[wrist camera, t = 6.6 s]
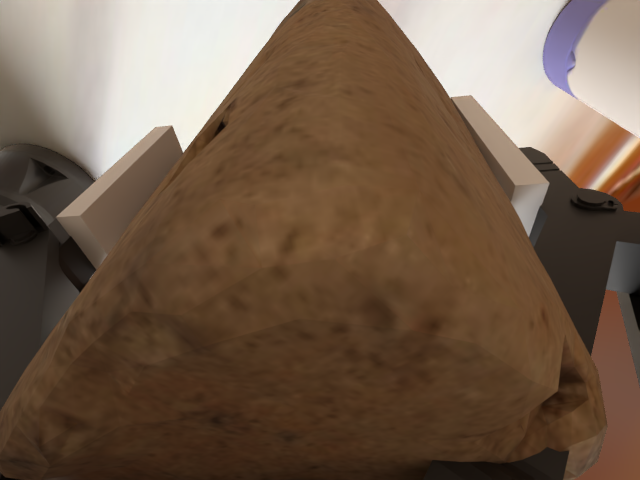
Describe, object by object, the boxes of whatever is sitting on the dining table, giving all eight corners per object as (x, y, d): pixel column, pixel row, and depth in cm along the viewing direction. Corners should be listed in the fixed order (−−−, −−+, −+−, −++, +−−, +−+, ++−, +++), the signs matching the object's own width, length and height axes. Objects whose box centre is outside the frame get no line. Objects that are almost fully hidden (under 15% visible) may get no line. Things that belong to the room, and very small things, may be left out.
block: (343, -52, 16) (303, -237, 1) (432, 73, 19) (784, 544, 4) (213, 109, 21) (-136, 513, 6) (300, 186, 24) (223, 579, 9)
